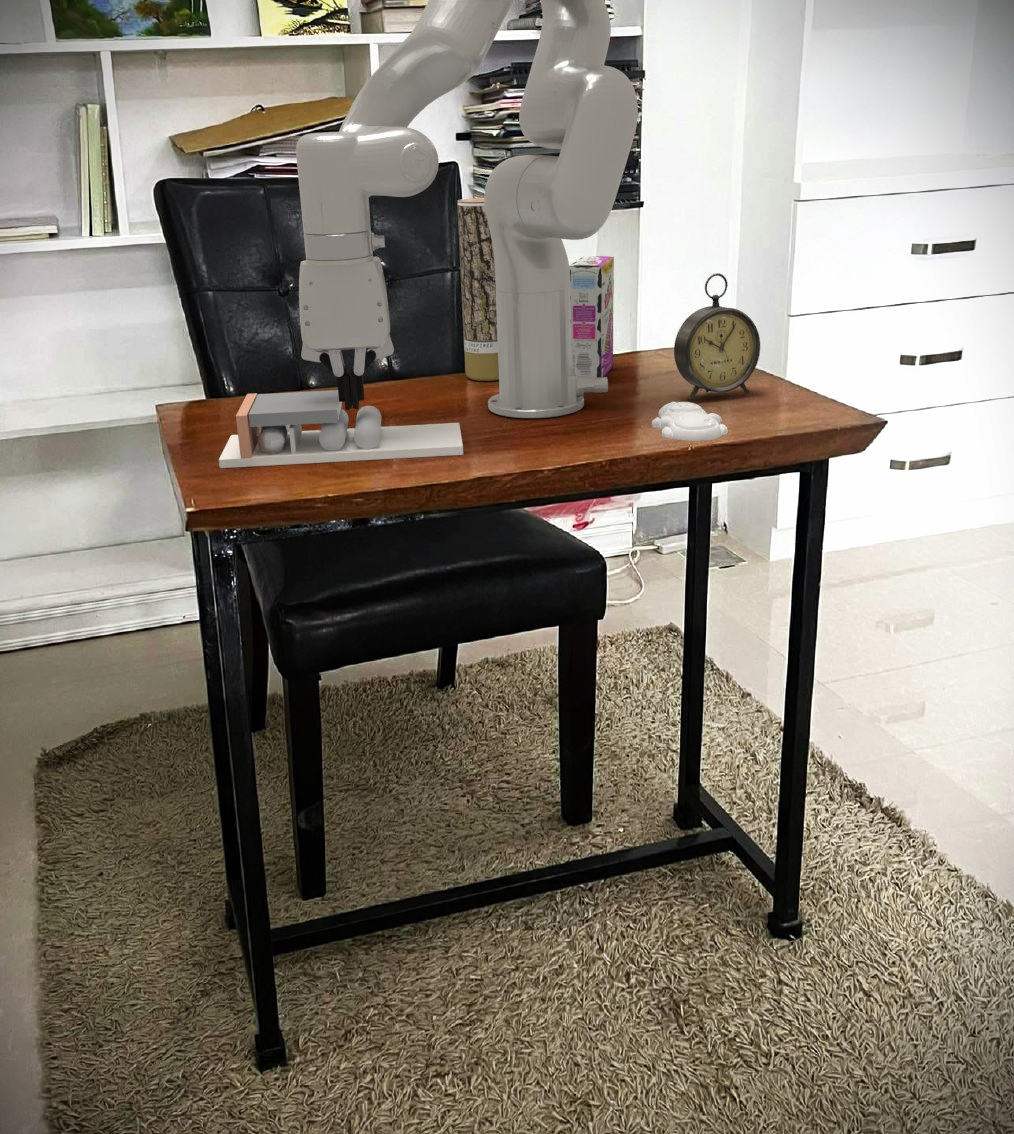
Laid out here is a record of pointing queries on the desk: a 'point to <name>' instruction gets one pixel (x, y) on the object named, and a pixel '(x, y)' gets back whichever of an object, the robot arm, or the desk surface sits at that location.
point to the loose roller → (272, 438)
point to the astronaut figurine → (688, 422)
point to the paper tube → (478, 291)
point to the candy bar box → (592, 315)
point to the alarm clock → (717, 347)
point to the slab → (295, 408)
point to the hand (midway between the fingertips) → (352, 406)
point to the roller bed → (352, 451)
